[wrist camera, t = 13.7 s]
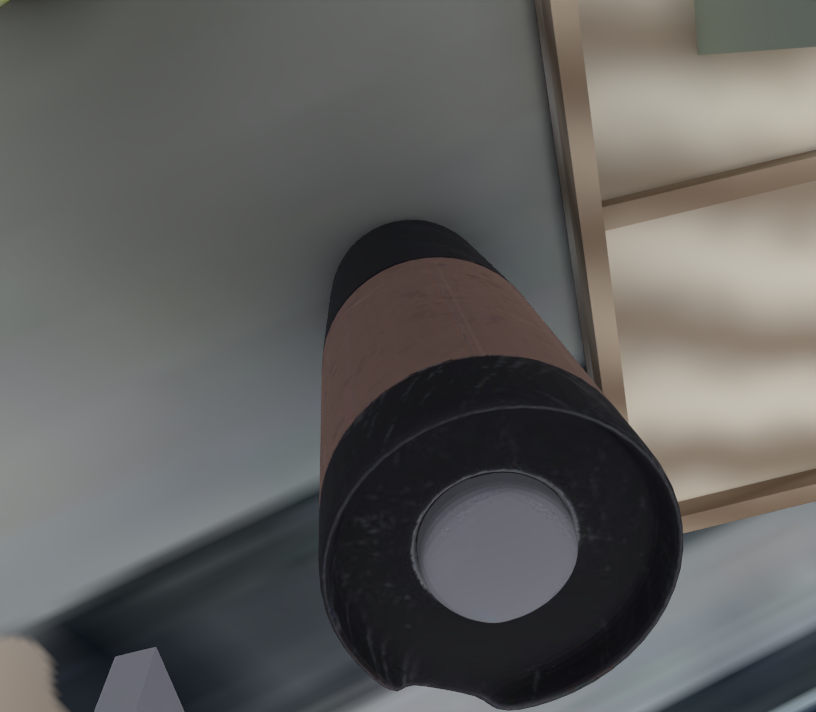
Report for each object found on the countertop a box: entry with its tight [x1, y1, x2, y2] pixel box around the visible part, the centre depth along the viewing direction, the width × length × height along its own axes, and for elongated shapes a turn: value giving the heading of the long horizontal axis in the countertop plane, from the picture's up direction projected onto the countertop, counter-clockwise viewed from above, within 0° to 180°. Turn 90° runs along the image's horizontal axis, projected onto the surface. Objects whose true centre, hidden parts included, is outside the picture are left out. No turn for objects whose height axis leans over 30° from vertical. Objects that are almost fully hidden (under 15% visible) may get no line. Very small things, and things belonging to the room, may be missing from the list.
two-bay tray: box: [534, 0, 816, 533], centre depth 32 cm, size 33×17×2 cm, turn 12°
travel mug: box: [318, 220, 683, 710], centre depth 24 cm, size 8×8×20 cm
